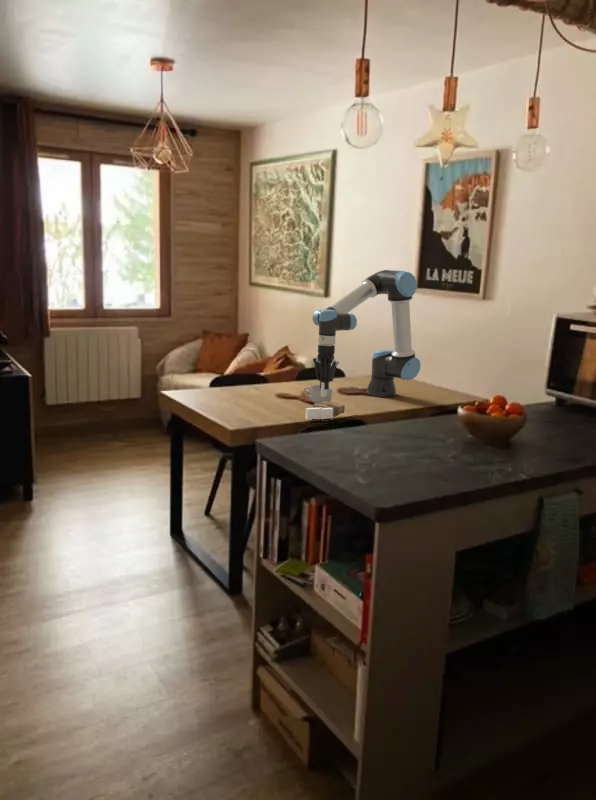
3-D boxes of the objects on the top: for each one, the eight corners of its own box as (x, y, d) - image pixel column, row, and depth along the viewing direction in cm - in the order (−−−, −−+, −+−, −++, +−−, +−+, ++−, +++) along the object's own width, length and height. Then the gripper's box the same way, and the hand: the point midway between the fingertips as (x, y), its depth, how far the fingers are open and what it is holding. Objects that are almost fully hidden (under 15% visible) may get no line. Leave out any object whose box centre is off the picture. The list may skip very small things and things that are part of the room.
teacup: (334, 402, 330) (335, 386, 328) (328, 406, 320) (329, 390, 318) (307, 399, 334) (308, 383, 332) (300, 403, 324) (301, 387, 322)
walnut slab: (325, 401, 313) (344, 405, 306) (324, 408, 314) (344, 412, 307) (313, 404, 306) (332, 408, 299) (312, 411, 307) (332, 416, 300)
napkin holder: (299, 421, 292) (300, 408, 291) (307, 415, 303) (308, 403, 301) (333, 425, 288) (333, 412, 286) (340, 419, 298) (340, 407, 297)
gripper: (309, 343, 303) (307, 394, 308) (333, 347, 295) (330, 399, 301) (319, 342, 309) (317, 392, 314) (343, 345, 301) (340, 397, 306)
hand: (323, 396), depth 307 cm, fingers closed
